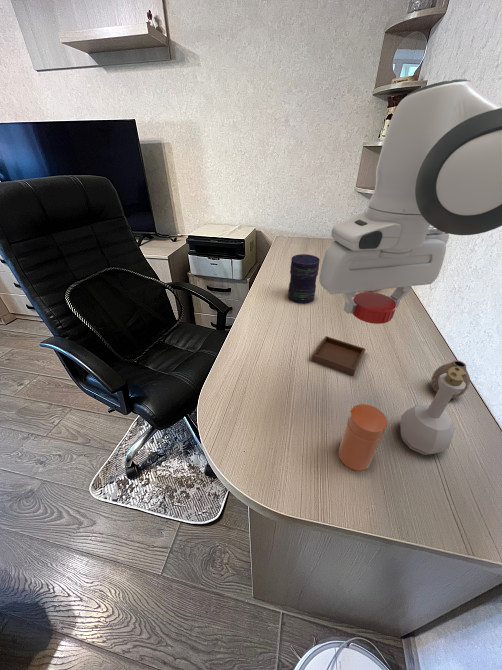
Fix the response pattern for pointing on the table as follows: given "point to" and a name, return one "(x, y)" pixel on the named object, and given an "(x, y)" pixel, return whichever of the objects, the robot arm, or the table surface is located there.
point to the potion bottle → (433, 417)
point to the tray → (338, 355)
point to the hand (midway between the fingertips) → (370, 309)
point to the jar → (362, 436)
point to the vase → (445, 369)
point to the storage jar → (303, 278)
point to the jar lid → (374, 307)
